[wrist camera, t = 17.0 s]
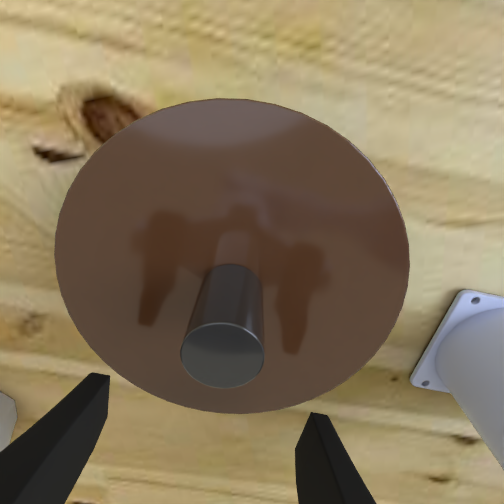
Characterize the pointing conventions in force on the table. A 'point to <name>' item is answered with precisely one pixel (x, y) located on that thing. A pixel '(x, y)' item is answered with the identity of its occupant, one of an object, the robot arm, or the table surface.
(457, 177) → the table surface
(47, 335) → the table surface
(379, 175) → the lid
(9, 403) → the salt shaker
